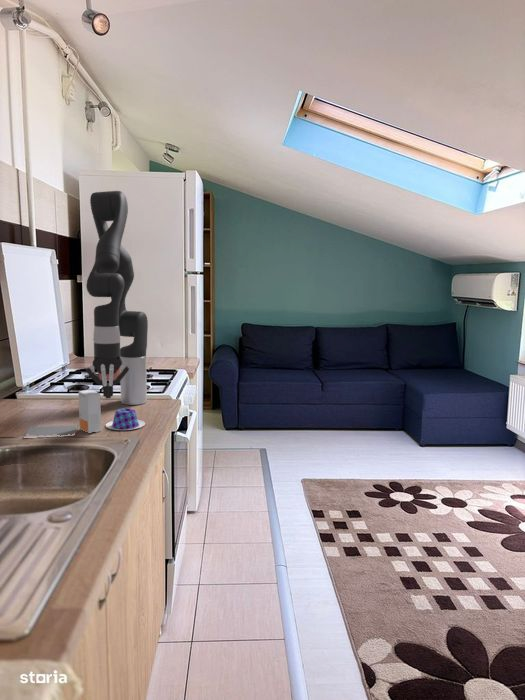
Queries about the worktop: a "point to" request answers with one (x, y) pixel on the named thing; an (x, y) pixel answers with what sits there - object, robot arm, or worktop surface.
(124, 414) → the pudding
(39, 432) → the mat
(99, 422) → the skincare box
